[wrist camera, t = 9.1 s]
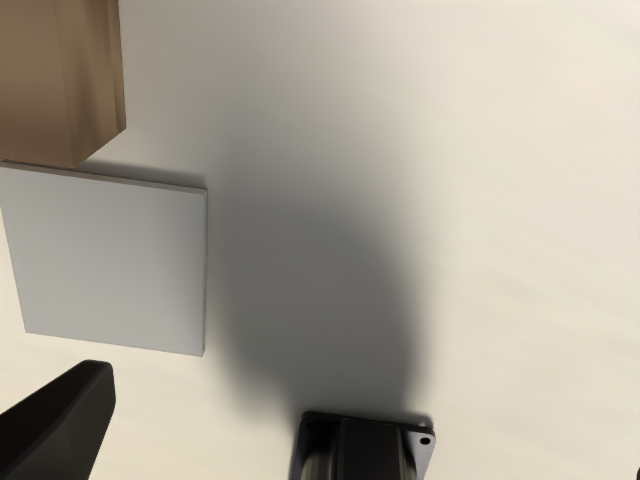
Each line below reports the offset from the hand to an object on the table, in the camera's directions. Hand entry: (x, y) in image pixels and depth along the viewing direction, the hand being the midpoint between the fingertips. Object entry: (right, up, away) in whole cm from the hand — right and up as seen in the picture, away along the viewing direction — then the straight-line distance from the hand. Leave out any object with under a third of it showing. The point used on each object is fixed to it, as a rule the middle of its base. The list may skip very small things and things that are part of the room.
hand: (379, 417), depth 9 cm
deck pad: (-10, +2, +13) cm, 17 cm away
